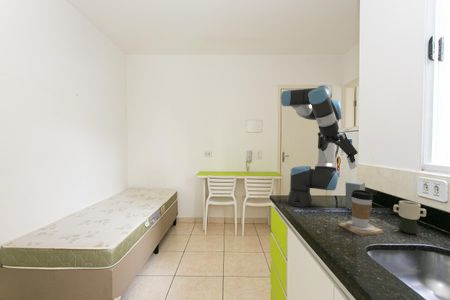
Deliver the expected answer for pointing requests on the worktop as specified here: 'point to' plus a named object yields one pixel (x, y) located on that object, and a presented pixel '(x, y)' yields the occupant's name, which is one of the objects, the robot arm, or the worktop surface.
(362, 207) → the coffee cup
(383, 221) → the worktop surface
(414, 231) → the character mug
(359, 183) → the skincare box
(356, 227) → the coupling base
